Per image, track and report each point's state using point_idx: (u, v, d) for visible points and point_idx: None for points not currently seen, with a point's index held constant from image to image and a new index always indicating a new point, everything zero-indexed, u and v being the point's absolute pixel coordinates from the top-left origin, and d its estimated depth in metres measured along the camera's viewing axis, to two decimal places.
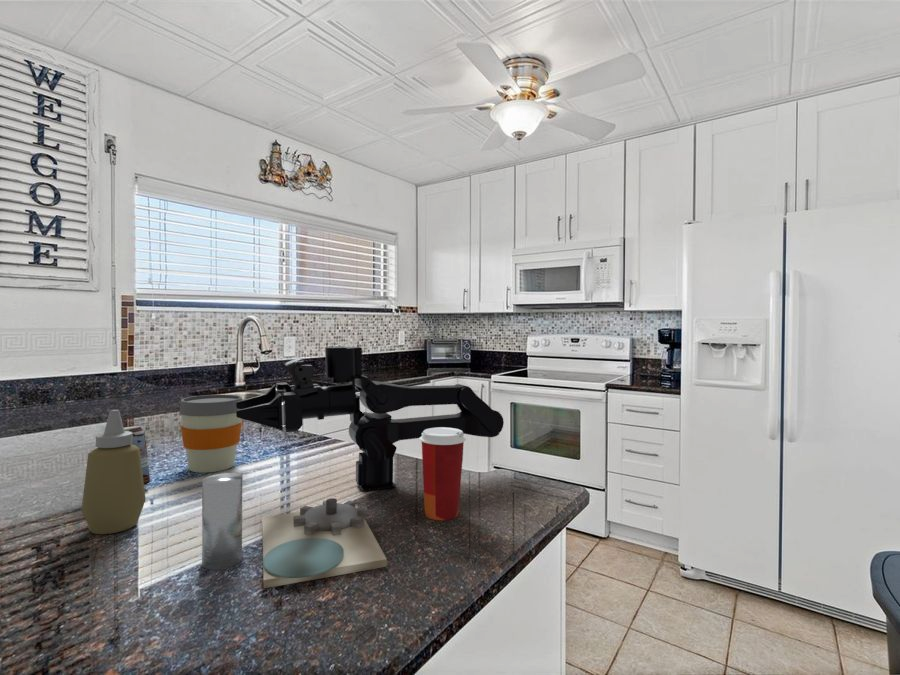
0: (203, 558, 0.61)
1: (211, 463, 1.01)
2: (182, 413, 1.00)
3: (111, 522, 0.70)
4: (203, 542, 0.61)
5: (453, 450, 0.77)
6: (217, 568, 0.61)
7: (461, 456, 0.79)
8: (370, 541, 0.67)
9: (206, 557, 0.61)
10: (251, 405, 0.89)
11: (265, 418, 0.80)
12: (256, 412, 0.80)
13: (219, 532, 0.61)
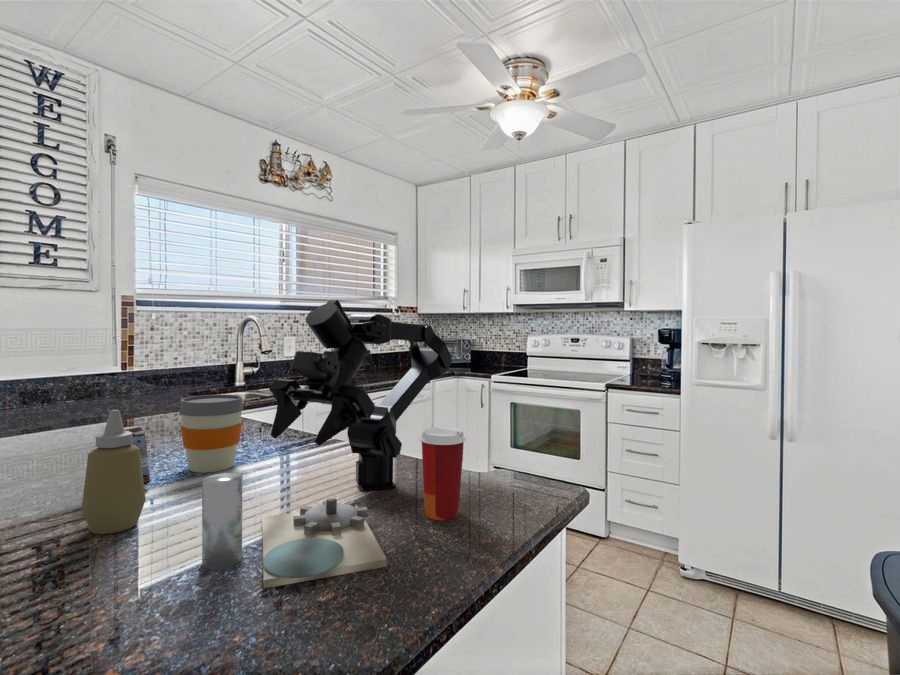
0: (203, 558, 0.61)
1: (211, 463, 1.01)
2: (182, 413, 1.00)
3: (111, 522, 0.70)
4: (203, 542, 0.61)
5: (453, 450, 0.77)
6: (217, 568, 0.61)
7: (461, 456, 0.79)
8: (370, 541, 0.67)
9: (206, 557, 0.61)
10: (282, 424, 0.79)
11: (340, 425, 0.76)
12: (331, 427, 0.74)
13: (219, 532, 0.61)
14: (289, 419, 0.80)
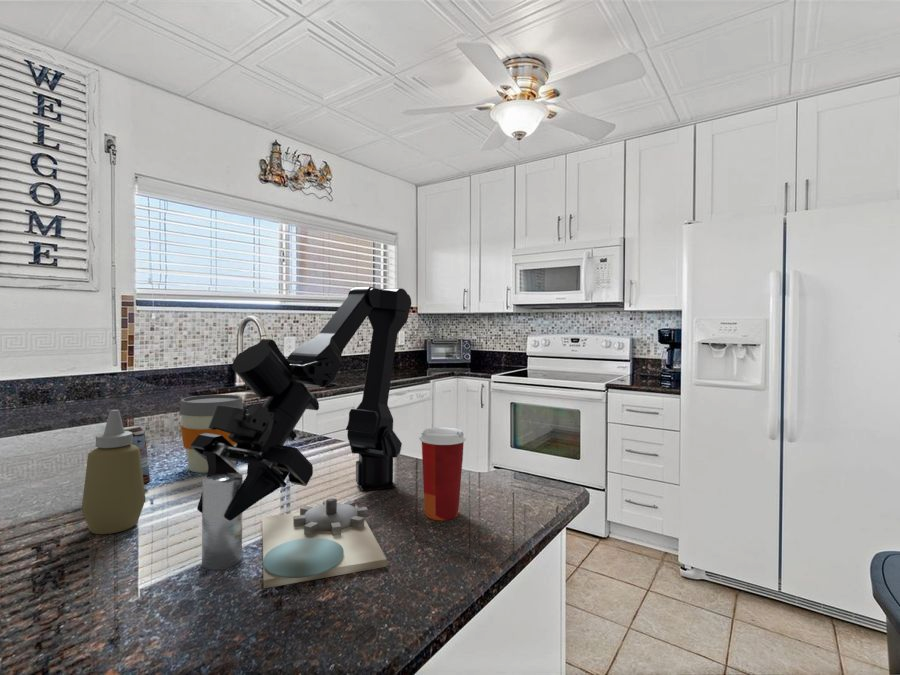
0: (203, 558, 0.61)
1: None
2: (182, 413, 1.00)
3: (111, 522, 0.70)
4: (203, 542, 0.61)
5: (453, 450, 0.77)
6: (217, 568, 0.61)
7: (461, 456, 0.79)
8: (370, 541, 0.67)
9: (206, 556, 0.61)
10: None
11: (259, 493, 0.63)
12: (246, 497, 0.62)
13: (219, 532, 0.61)
14: None
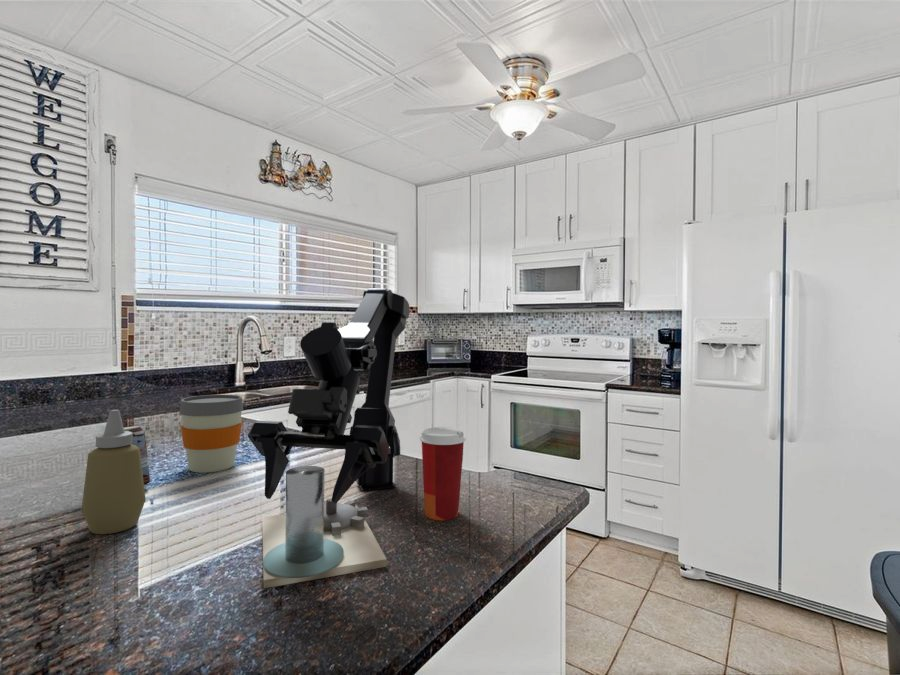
0: (291, 553, 0.60)
1: (211, 463, 1.01)
2: (182, 413, 1.00)
3: (111, 522, 0.70)
4: (291, 537, 0.60)
5: (453, 450, 0.77)
6: (309, 561, 0.60)
7: (461, 456, 0.79)
8: (370, 541, 0.67)
9: (296, 551, 0.60)
10: (275, 480, 0.63)
11: (354, 474, 0.64)
12: (348, 479, 0.62)
13: (311, 524, 0.60)
14: (280, 472, 0.65)
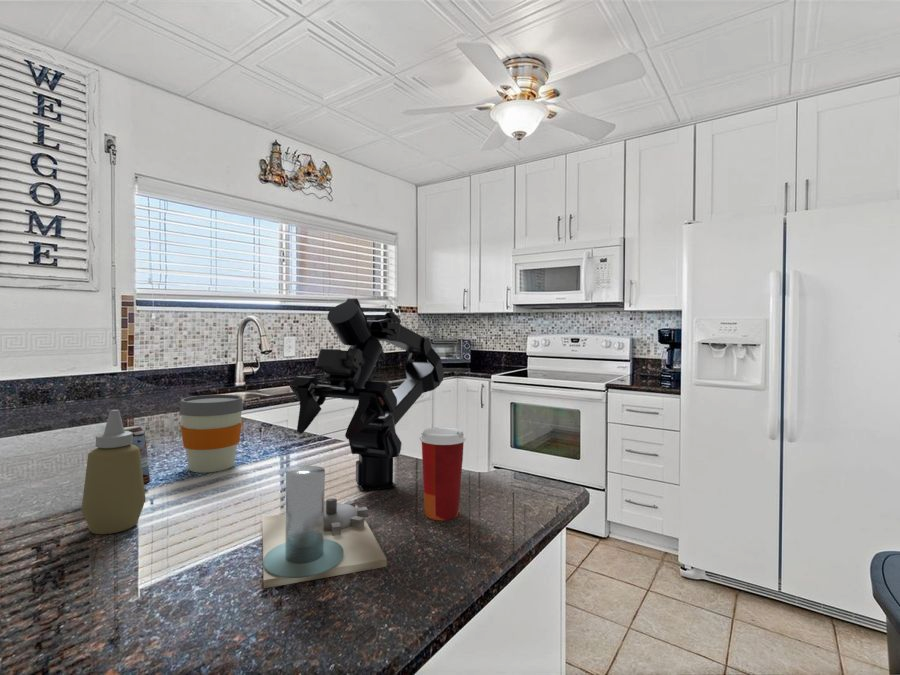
0: (291, 553, 0.60)
1: (211, 463, 1.01)
2: (182, 413, 1.00)
3: (111, 522, 0.70)
4: (291, 537, 0.60)
5: (453, 450, 0.77)
6: (309, 561, 0.60)
7: (461, 456, 0.79)
8: (370, 541, 0.67)
9: (296, 551, 0.60)
10: (306, 420, 0.81)
11: (367, 419, 0.79)
12: (359, 421, 0.77)
13: (311, 524, 0.60)
14: (311, 415, 0.82)
